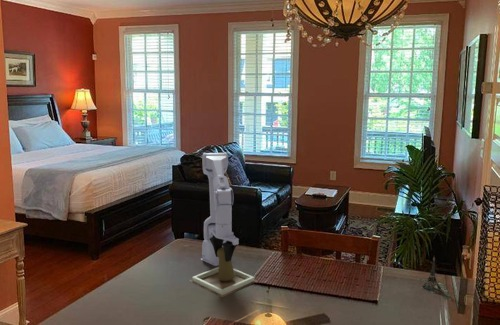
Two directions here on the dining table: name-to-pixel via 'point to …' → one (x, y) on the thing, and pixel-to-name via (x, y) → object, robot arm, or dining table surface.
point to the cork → (224, 266)
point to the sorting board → (222, 283)
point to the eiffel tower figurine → (434, 283)
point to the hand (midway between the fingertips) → (223, 258)
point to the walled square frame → (223, 291)
